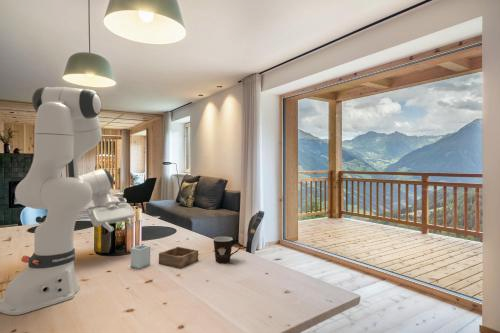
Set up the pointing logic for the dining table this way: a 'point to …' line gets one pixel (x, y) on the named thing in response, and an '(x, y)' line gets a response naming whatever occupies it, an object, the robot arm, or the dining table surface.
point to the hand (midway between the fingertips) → (121, 228)
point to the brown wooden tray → (178, 257)
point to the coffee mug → (223, 249)
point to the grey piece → (140, 256)
